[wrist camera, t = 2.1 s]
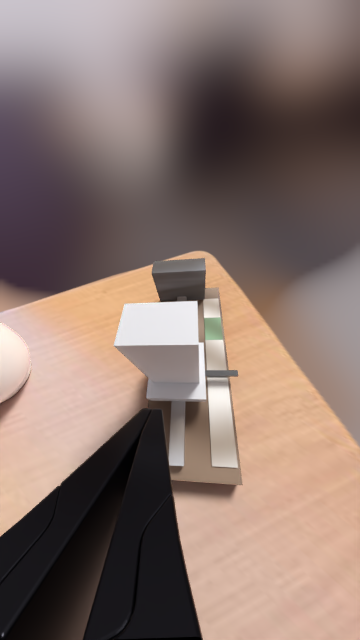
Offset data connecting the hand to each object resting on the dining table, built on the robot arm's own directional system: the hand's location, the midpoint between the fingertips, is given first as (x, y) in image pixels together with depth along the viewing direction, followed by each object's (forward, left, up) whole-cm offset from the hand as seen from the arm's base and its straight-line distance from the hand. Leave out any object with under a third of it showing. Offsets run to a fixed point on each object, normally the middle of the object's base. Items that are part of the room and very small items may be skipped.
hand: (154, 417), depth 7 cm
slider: (+4, -2, -9) cm, 10 cm away
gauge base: (+6, -1, -11) cm, 13 cm away
